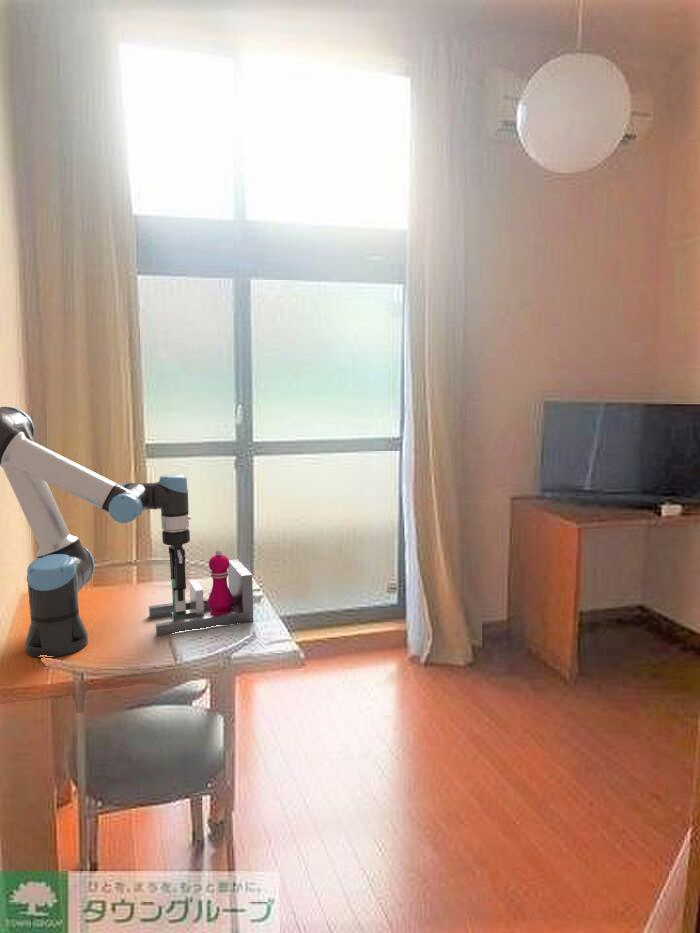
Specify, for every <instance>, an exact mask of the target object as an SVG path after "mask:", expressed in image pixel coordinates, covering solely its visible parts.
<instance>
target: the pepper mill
mask: <svg viewBox="0 0 700 933" xmlns="http://www.w3.org/2000/svg"><path fill="white" fill-rule="evenodd" d="M222 553H223V551H222V550H221V549H217V550H216V551H215V555H213V556H211V557H210V559H209V560H208V569H210V570H211V571H210V577H211V578H212V588H211V591H210V593H209V596H208V598H209V599H208V605H209V606H210V608H211V609H210V611H209V612H210V613H209V614H210V615H217V614H223V613H230V612H233V608H232V607H231V605H232V604H233V597H232V594H231V592H230V590H229V584H228V580H227V578H228V568H229V566H230V562H229V560H230V559H229V558H228V557H227V556H226V555H224V554H222ZM210 615H209V616H210Z"/></svg>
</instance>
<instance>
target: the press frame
mask: <svg viewBox="0 0 700 933" xmlns="http://www.w3.org/2000/svg"><path fill="white" fill-rule="evenodd" d="M229 562H230V566H229V568H228V569H227V570H228V576H227V578H228V588H229V590H230V592H231V594H232V597H233V604H232V605H231V607H230V608H231V609H232V612H230V613H223V614H217V615H204V617H197V618H191V619H184V620H177V621H165V622H159V623H158V622H157V623H155V635H156V636H157V637H165V636H170V634H172V633H175V632H179V631H185V630H192V629H200V628H206V627H211V626H216V625H228V626H231V625H230V624H234V625H240V624H239V623H241V624H245V623H246V624H247V623H253V622H254V596H253V594H254V593H253V574H252V573H251V572H250V571H249V570H248V569H247V568H246V567H245V565H244V564H243V563H242V562H241V561H240V560H239V559H229ZM208 599H209V597H206V598H204V597H203V603H204V611H208V610H211V608H210V606H209V605H208ZM186 610H191V605H190V600H186ZM172 612H173V602H170V603H164V604H163V603H162V604H157V605H149V606H148V615H149V618H150V619H154V618H163V617H167V616H172ZM237 623H238V624H237ZM172 635H173V634H172Z"/></svg>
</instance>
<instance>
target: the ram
mask: <svg viewBox="0 0 700 933" xmlns="http://www.w3.org/2000/svg"><path fill="white" fill-rule="evenodd" d="M173 588H175V578H174V579H172V580H171V590H172V591H171V592H172V593H171V594H172V596H171V597H172V603H173V612H172V615H171V620H172V621H177V620H184V619H191V618H197V617H204V616H205V610H204V603H203V599H204V590H203V587H202V586H201V585H200V583H199V581H198V580H197V579H193V580H189V599H190V600H189V601H190V605H191V610H186V611H180V612H176V607H175V591H173ZM186 601H187V600H186V599H185V605H186Z"/></svg>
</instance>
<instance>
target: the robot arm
mask: <svg viewBox="0 0 700 933" xmlns="http://www.w3.org/2000/svg"><path fill="white" fill-rule="evenodd" d="M34 435H35V426H34V422H33V421H32V418H31V417H30V415H28V414H27V413H26V412H24V411H23V410H21V409H20V408H16V407H11V406H1V407H0V467H1V468H2V469H3V471H4V473H5V476H6V478H7V480H8V482H9V485H10V487H11V489H12V490H13V493H14V496H15V497H16V499H17V502H18V503H19V506H20V508H21V511H22V512H23V515H24V517H25V519H26V521H27V523H28V526H29V527H30V529H31V532H32V534H33V536H34V539H35V540H36V542H37V545H38V547H39V548H38V550H37V553H36V557H37V559H34V560H33V561H31V562H30V563H29V565H28V567H27V571H26V572H27V573H26V582H27V592H28V601H29V602H28V604H29V613H30V625H29V628H28V630H27V635H26V638H25V645H24V646H25V647H24V648H25V653H26V654H27V655H28V656H30V657H32V658H33V657H34V658H39V657H38V656H40V655H47V656H58V657H63V656H67V655H70V654H73V653H76V652H78V651H80V650H82V649H83V648H85V647H86V646H87V645H88V643H89V635H88V631H87V629H86V627H85V625H84V623H83V620H82V618H81V616H80V608H79V596H78V595H79V594H78V593H79V591H81V589H82V588H84V587H85V585H86V584H88V582H89V581H90V580H91V577H92V576H93V574H94V571H95V559H94V556H93V555H92V554H93V553H91V551H90V550H89V549H88V548H86V547H84V546H83V544H82V543H81V541H80V538H79V536H76V535H72V534H71V532H70V530H69V529H68V528H69V527H68V525H67V524H66V521H65V519H64V517H63V515H62V513H61V510H60V508H59V506H58V503H57V502H56V499H55V497H54V495H53V493H52V491H51V488H50V486H49V484H50V485H53V486H54V487H56V488H58V489H60V490H63V491H64V492H66V493H68V494H70V495H73V496H74V497H76V498H78V499H81V500H82V501H85V502H87V503H89V504H90V505H93V506H94V507H97V508H99V509H101V510H103V511H105V512H107V513H109V515H110V517H111V518H112V519H113V520H114V521H115V522H117V523H120V524H127V523H131V522H133V521H135V520H136V519H137V518H138V517H139V516H141V514H142V512H143V511H145V510H149V511H150V510H160V512H161V513H160V515H161V516H160V520H161V521H160V522H161V530H162V531H161V535H162V536H161V539H162V543H163V544H164V545H166V546H168V555H169V561H170V562H169V567H170V569H169V570H170V580H171V581H172V579H174V578H175V588H173V591H175V607H176V612H180V611H186V605H185V600H186V589H187V584H186V583H187V582H186V579H187V578H186V550H185V549H184V547H183V545H185V544H188V543H189V542H190V540H191V538H190V537H191V535H190V534H191V533H190V532H191V531H190V529H189V528H190V521H189V520H191V518H192V516H190V515H189V514H190V512H189V490H188V481H187V477H186V476H185V475H184V474H181V473H180V474H179V473H170V474H162V475H161V476H159V480H158V481H157V482H127V483H117V482H114V481H113V480H111V479H108V478H107V477H105V476H102V475H100V474H99V473H97V472H94V471H93V470H91V469H88V468H86V467H85V466H82V465H81V464H78V463H77V462H75V461H72V460H71V459H68V458H67V457H65V456H62V455H60V454H59V453H57V452H56V451H55V452H54V451H52V450H51V449H48V448H46V447H45V446H43V445H42V444H39V443H36V441H35V439H34Z"/></svg>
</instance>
